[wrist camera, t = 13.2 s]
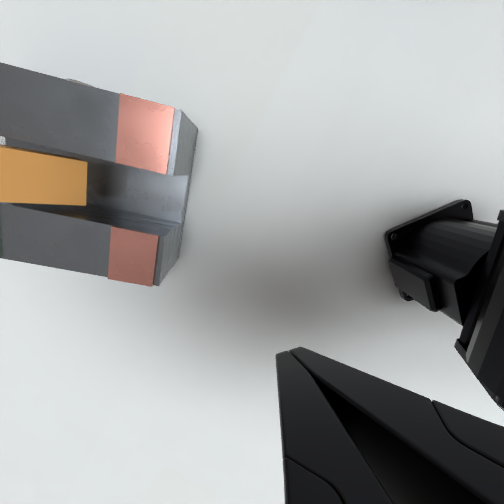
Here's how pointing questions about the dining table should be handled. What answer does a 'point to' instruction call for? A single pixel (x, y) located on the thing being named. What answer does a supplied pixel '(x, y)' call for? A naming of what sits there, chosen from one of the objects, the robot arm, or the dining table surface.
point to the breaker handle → (41, 177)
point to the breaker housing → (99, 178)
